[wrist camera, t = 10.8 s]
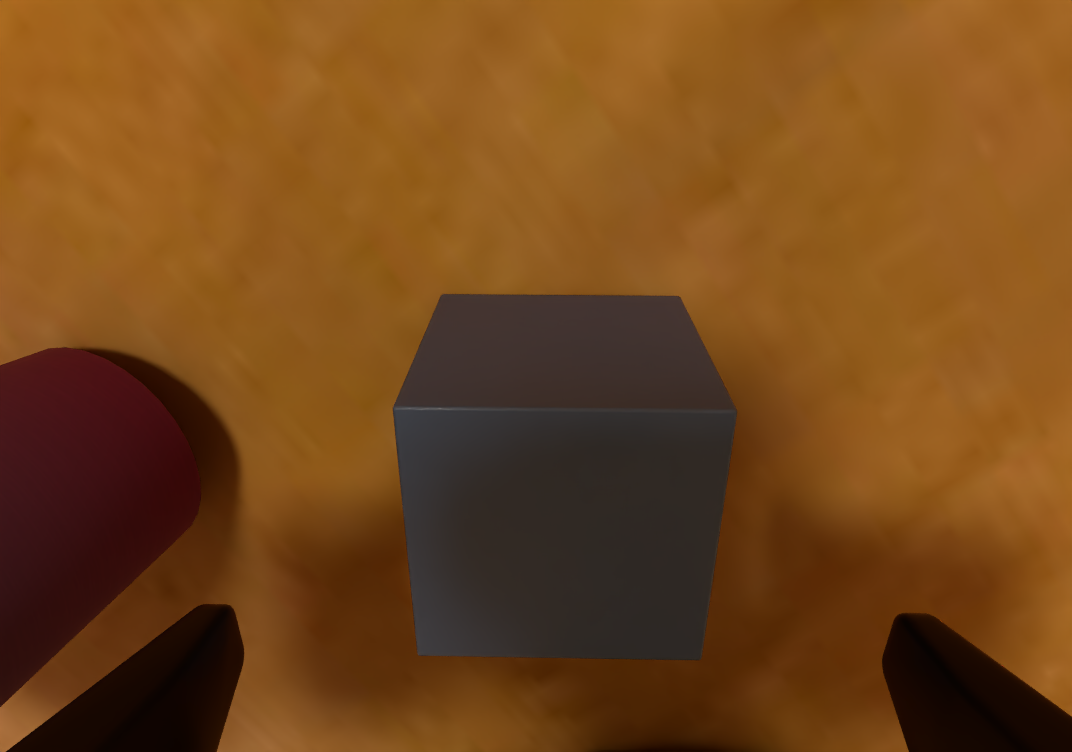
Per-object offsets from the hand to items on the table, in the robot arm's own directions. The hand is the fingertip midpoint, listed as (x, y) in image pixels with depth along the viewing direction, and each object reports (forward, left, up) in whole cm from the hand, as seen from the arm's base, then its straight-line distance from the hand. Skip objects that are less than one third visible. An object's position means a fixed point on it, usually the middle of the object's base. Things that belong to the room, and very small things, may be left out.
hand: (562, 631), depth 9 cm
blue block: (0, 0, -7) cm, 7 cm away
